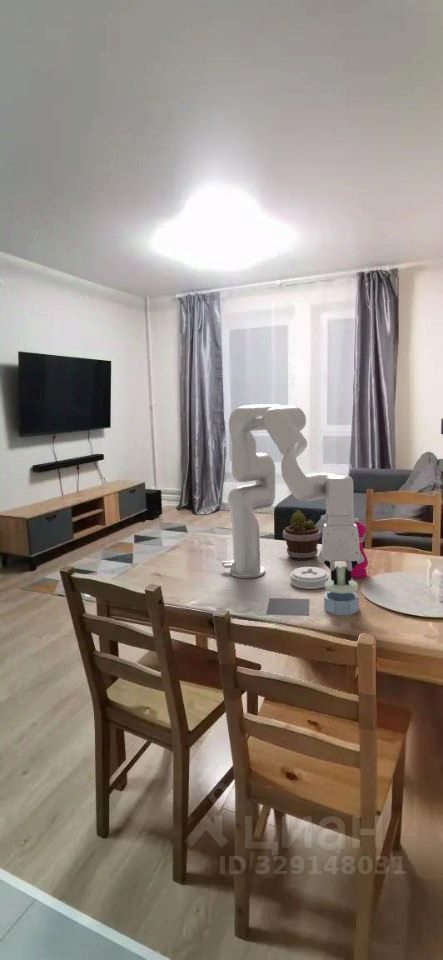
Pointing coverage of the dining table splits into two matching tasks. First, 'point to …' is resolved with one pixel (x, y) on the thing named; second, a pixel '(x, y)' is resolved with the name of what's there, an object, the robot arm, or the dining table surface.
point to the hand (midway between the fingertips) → (341, 582)
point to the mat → (288, 606)
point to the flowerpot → (301, 538)
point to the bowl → (341, 603)
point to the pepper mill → (360, 568)
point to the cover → (341, 582)
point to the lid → (309, 577)
